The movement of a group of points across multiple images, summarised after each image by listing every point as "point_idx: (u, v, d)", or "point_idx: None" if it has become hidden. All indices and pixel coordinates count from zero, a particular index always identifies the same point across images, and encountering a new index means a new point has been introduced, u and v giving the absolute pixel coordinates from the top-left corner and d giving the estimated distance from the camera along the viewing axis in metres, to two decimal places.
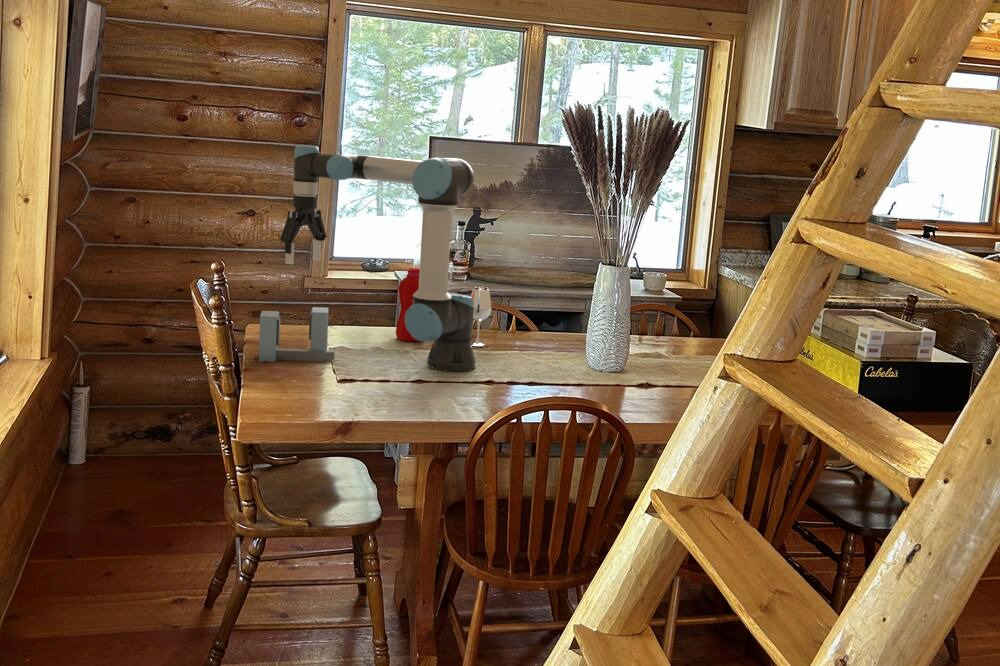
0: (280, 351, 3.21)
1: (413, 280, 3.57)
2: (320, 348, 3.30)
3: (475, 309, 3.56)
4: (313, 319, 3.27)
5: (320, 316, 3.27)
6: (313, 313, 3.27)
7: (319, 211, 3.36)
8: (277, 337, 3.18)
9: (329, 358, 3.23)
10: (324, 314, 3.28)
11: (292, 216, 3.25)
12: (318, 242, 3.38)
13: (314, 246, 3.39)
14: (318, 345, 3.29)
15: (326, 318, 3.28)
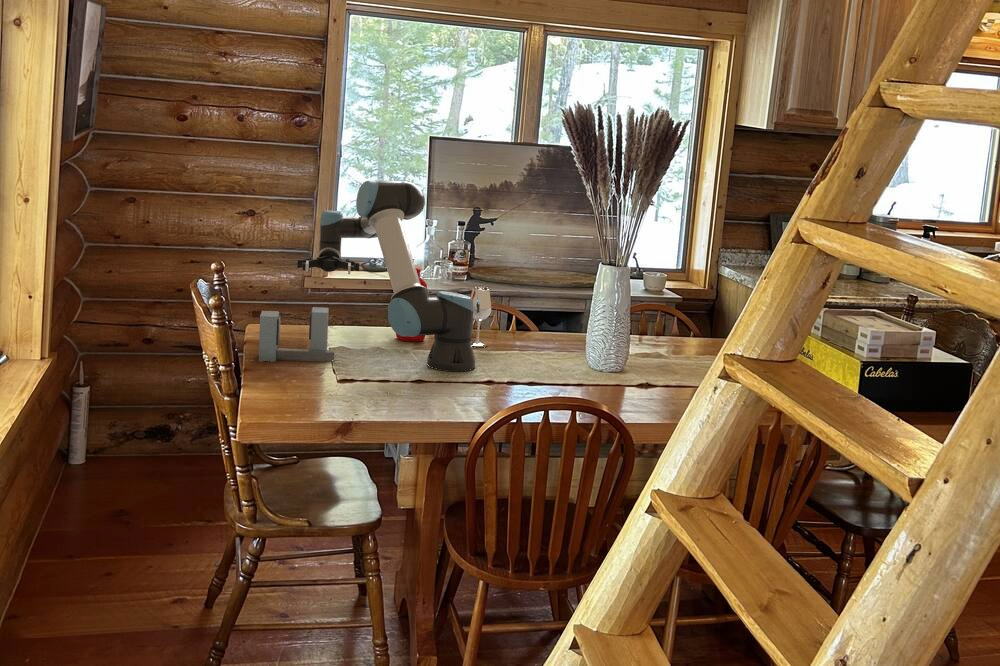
0: (280, 351, 3.21)
1: None
2: (320, 348, 3.30)
3: (475, 309, 3.56)
4: (313, 319, 3.27)
5: (320, 316, 3.28)
6: (313, 313, 3.27)
7: None
8: (277, 337, 3.18)
9: (329, 358, 3.23)
10: (324, 314, 3.28)
11: None
12: (348, 264, 3.45)
13: None
14: (318, 345, 3.29)
15: (326, 318, 3.28)
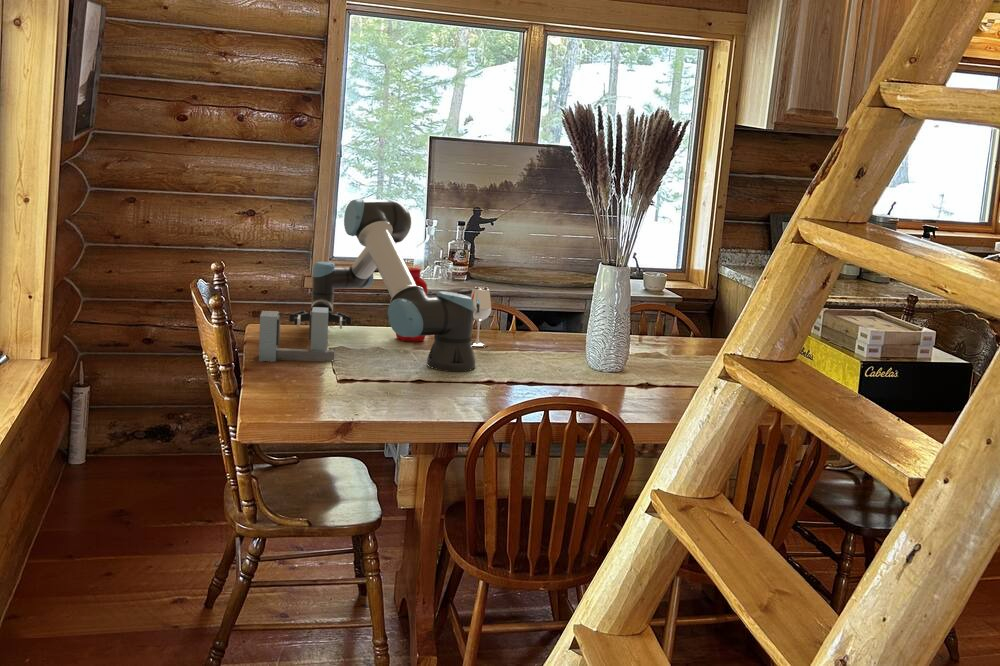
0: (280, 351, 3.21)
1: None
2: (320, 348, 3.30)
3: (475, 309, 3.56)
4: (313, 319, 3.27)
5: (320, 316, 3.28)
6: (313, 313, 3.27)
7: None
8: (277, 337, 3.18)
9: (329, 358, 3.23)
10: (324, 314, 3.28)
11: None
12: (339, 318, 3.47)
13: None
14: (318, 345, 3.29)
15: (326, 318, 3.28)
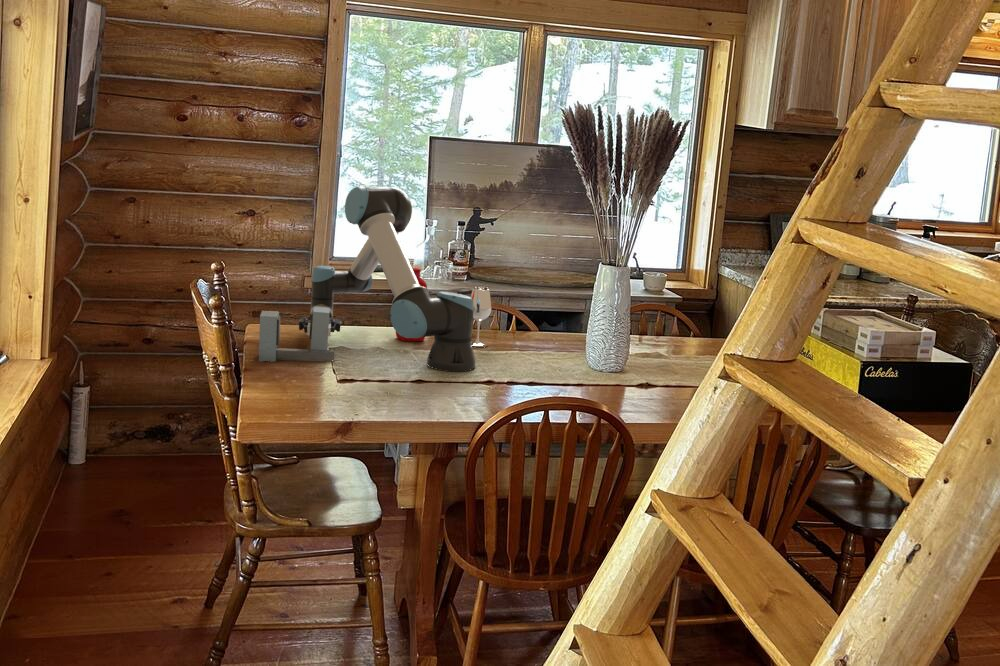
0: (280, 351, 3.21)
1: None
2: (320, 348, 3.30)
3: (475, 309, 3.56)
4: (314, 319, 3.27)
5: (322, 316, 3.28)
6: (314, 313, 3.27)
7: None
8: (277, 337, 3.18)
9: (329, 358, 3.23)
10: (325, 314, 3.28)
11: (300, 318, 3.41)
12: None
13: None
14: (318, 345, 3.29)
15: (327, 318, 3.28)
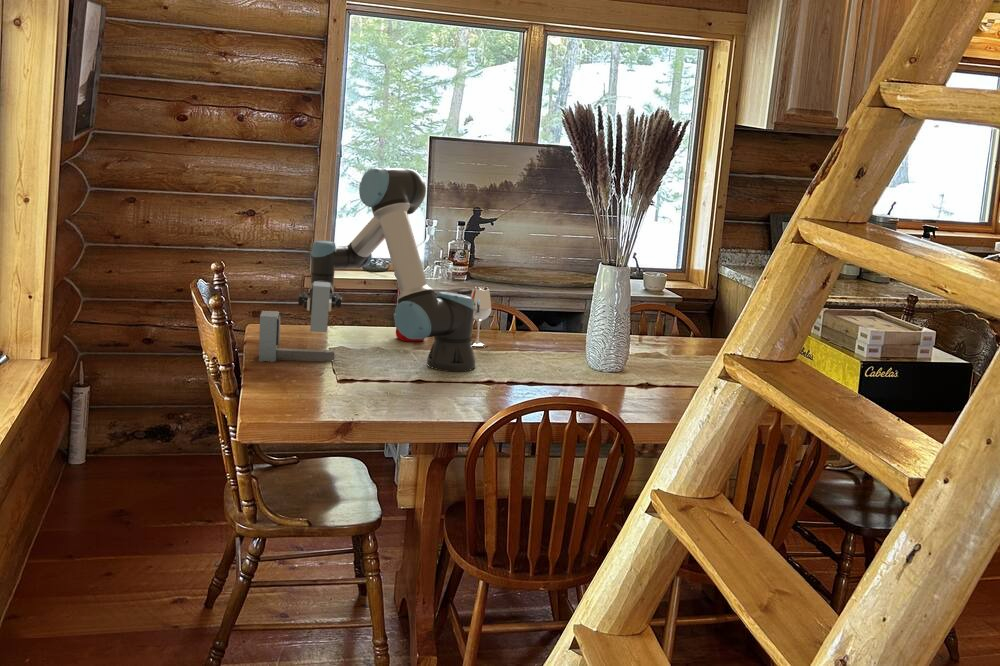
0: (280, 351, 3.21)
1: None
2: (321, 324, 3.18)
3: (475, 309, 3.56)
4: (314, 293, 3.16)
5: (322, 290, 3.16)
6: (314, 287, 3.15)
7: None
8: (277, 337, 3.18)
9: (329, 358, 3.23)
10: (326, 288, 3.16)
11: (300, 294, 3.30)
12: (329, 300, 3.22)
13: None
14: (318, 321, 3.18)
15: (328, 293, 3.16)
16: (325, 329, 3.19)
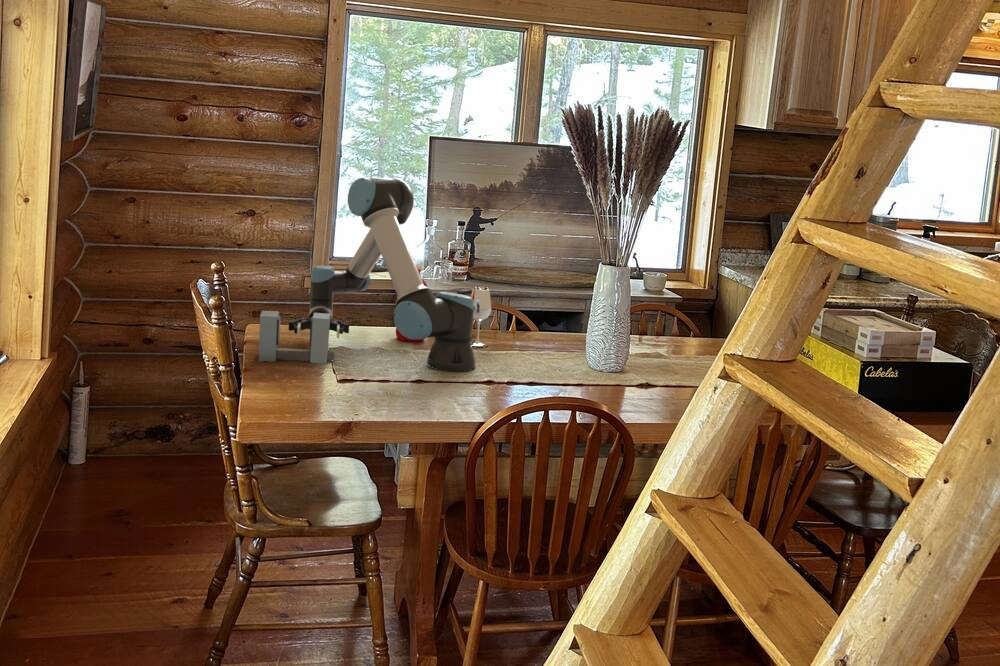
0: (280, 351, 3.21)
1: None
2: (320, 355, 3.20)
3: (475, 309, 3.56)
4: (314, 325, 3.18)
5: (321, 322, 3.18)
6: (314, 319, 3.17)
7: None
8: (277, 337, 3.18)
9: (329, 358, 3.23)
10: (325, 320, 3.18)
11: (297, 319, 3.32)
12: (337, 326, 3.25)
13: None
14: (318, 353, 3.20)
15: (327, 324, 3.18)
16: (325, 361, 3.21)
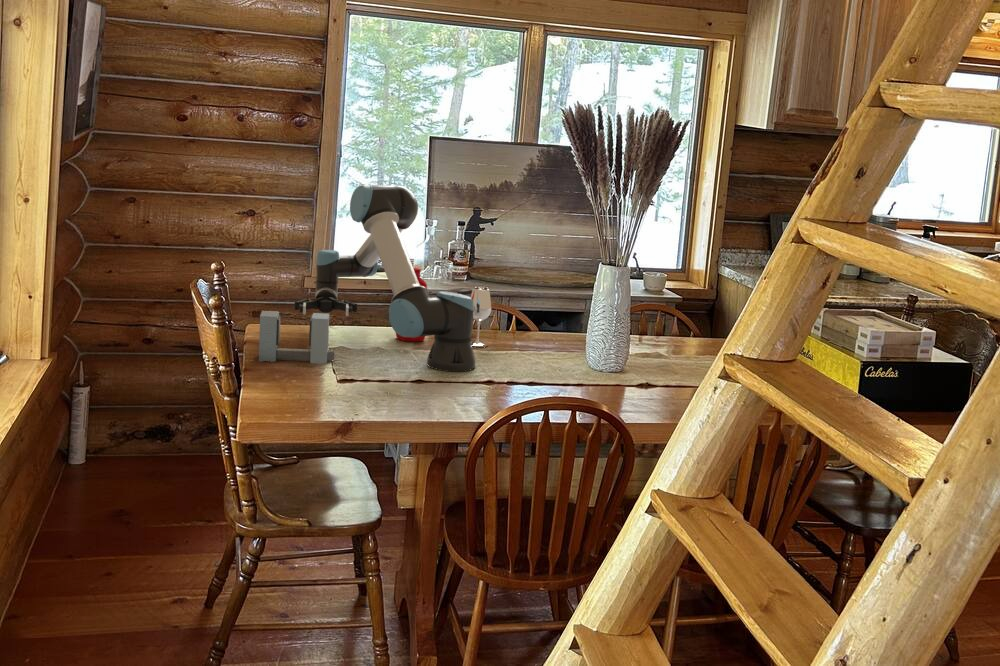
0: (280, 351, 3.21)
1: None
2: (320, 355, 3.20)
3: (475, 309, 3.56)
4: (313, 325, 3.18)
5: (321, 322, 3.18)
6: (313, 319, 3.17)
7: (344, 299, 3.51)
8: (277, 337, 3.18)
9: (329, 358, 3.23)
10: (324, 320, 3.18)
11: None
12: (346, 305, 3.41)
13: None
14: (318, 353, 3.20)
15: (327, 324, 3.18)
16: (325, 361, 3.21)
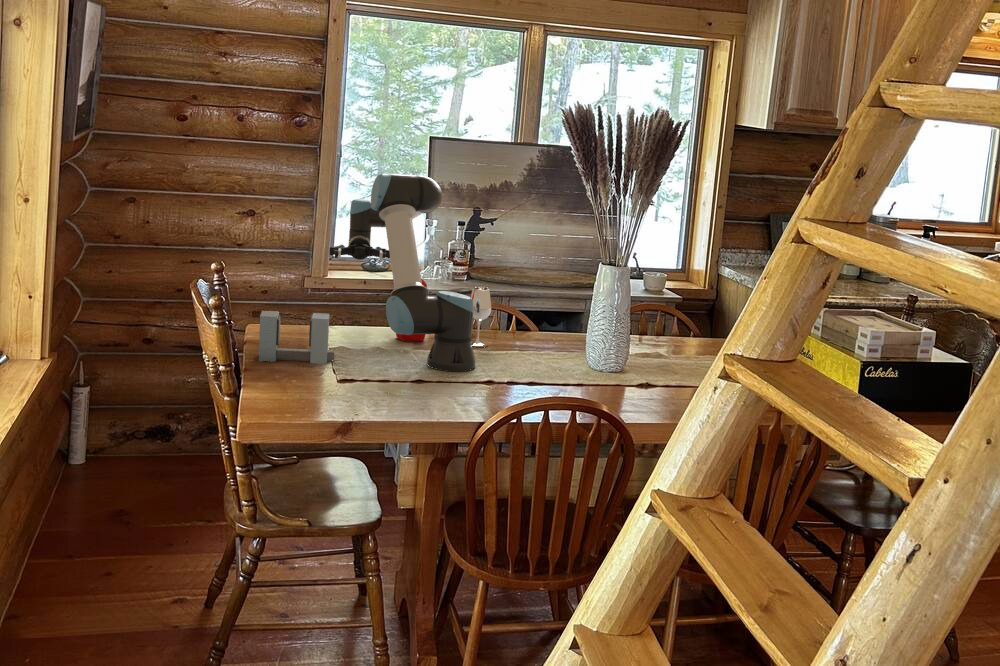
0: (280, 351, 3.21)
1: None
2: (320, 355, 3.20)
3: (475, 309, 3.56)
4: (313, 325, 3.18)
5: (321, 322, 3.18)
6: (313, 319, 3.17)
7: None
8: (277, 337, 3.18)
9: (329, 358, 3.23)
10: (324, 320, 3.18)
11: None
12: (379, 251, 3.49)
13: None
14: (318, 353, 3.20)
15: (327, 324, 3.18)
16: (325, 361, 3.21)
